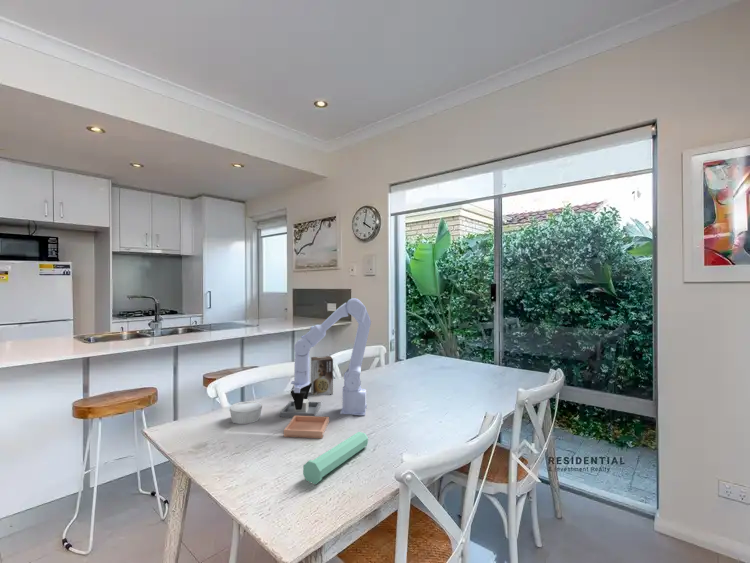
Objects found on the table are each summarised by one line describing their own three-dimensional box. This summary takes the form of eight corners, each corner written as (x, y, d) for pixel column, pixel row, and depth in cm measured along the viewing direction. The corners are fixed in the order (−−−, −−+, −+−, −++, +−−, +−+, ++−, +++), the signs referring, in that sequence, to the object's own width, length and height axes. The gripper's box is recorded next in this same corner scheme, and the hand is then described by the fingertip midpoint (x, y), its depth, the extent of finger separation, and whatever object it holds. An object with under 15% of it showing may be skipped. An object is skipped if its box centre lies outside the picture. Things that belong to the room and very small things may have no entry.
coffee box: (330, 390, 168) (330, 355, 168) (333, 394, 162) (333, 358, 161) (310, 392, 165) (310, 356, 165) (312, 396, 159) (313, 359, 159)
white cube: (308, 409, 141) (308, 399, 141) (305, 413, 137) (305, 402, 137) (297, 408, 142) (297, 398, 142) (294, 413, 137) (294, 402, 137)
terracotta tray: (329, 422, 130) (329, 416, 130) (322, 438, 117) (322, 431, 117) (294, 421, 131) (294, 415, 131) (283, 436, 118) (283, 430, 118)
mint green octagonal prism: (359, 424, 114) (307, 456, 93) (374, 435, 112) (323, 470, 90) (353, 440, 115) (299, 475, 94) (367, 451, 113) (316, 490, 91)
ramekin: (253, 412, 139) (253, 398, 139) (267, 420, 131) (267, 406, 131) (224, 420, 131) (224, 405, 131) (237, 429, 123) (237, 414, 123)
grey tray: (320, 407, 145) (321, 402, 145) (314, 419, 133) (314, 413, 133) (289, 406, 146) (290, 400, 146) (280, 418, 133) (280, 412, 133)
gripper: (296, 365, 147) (296, 399, 147) (286, 375, 132) (285, 412, 132) (314, 366, 146) (313, 399, 146) (305, 375, 132) (304, 413, 132)
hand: (301, 405), depth 139 cm, fingers open, 7 cm apart
